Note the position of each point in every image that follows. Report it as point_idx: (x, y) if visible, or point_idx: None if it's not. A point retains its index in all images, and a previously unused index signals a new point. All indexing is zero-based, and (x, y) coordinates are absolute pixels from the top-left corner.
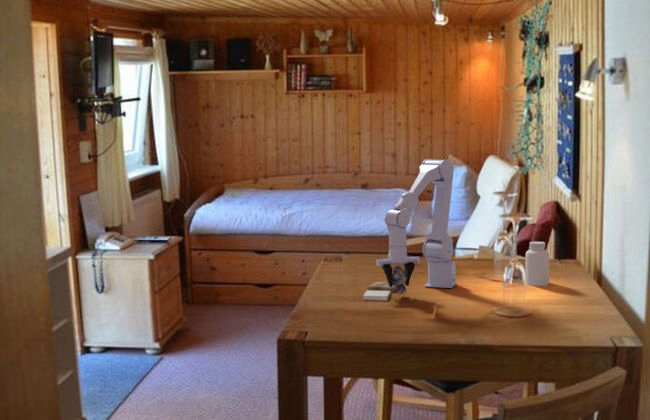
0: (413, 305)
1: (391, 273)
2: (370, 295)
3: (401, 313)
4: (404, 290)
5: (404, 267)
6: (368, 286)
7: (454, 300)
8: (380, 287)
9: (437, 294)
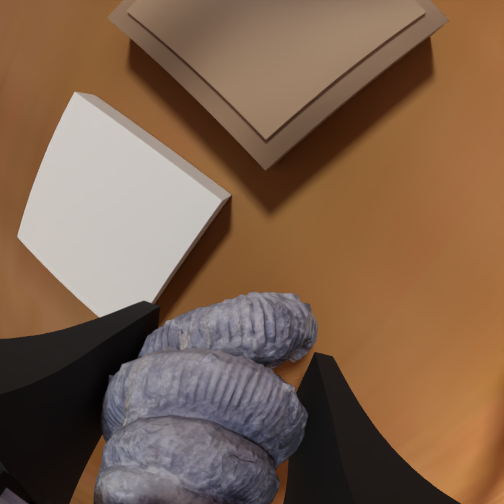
0: None
1: (79, 459)
2: (46, 259)
3: None
4: (273, 365)
5: (341, 500)
6: (118, 6)
7: (432, 466)
8: (178, 77)
9: (494, 353)
